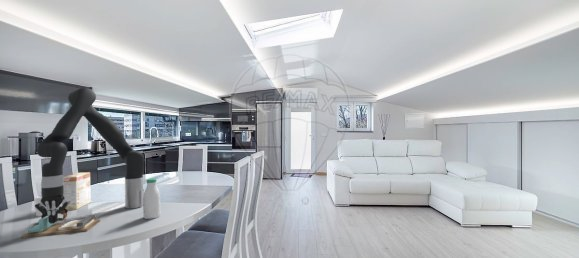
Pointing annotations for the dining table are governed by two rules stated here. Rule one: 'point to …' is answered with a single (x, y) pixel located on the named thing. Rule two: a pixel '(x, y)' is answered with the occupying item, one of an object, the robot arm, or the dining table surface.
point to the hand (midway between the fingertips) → (53, 222)
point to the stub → (41, 225)
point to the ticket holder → (66, 227)
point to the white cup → (37, 200)
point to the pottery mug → (59, 213)
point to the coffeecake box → (77, 190)
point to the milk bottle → (151, 200)
